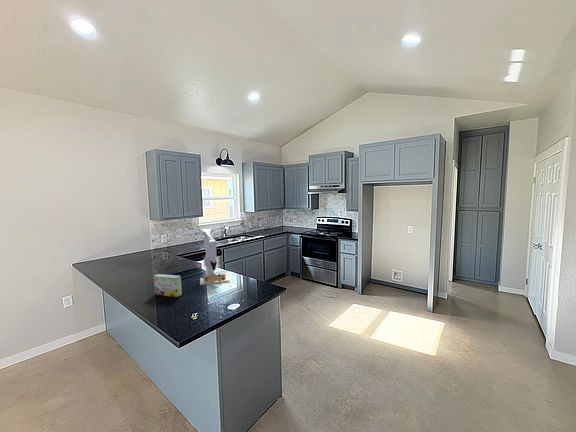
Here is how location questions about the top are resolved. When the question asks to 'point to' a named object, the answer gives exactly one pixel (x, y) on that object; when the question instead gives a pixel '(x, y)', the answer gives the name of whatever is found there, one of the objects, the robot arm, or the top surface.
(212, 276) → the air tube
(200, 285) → the firebox plate
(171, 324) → the top surface
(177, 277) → the snack box
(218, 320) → the top surface
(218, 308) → the top surface
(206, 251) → the robot arm
